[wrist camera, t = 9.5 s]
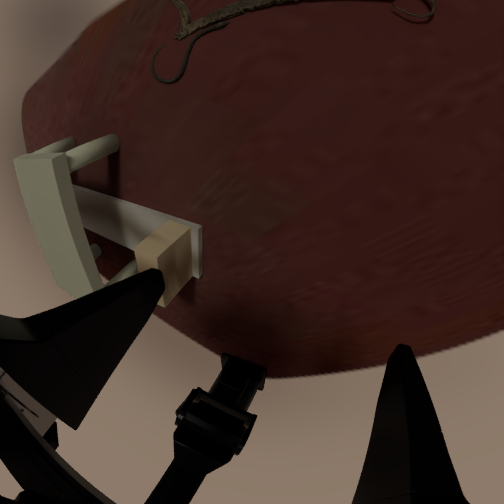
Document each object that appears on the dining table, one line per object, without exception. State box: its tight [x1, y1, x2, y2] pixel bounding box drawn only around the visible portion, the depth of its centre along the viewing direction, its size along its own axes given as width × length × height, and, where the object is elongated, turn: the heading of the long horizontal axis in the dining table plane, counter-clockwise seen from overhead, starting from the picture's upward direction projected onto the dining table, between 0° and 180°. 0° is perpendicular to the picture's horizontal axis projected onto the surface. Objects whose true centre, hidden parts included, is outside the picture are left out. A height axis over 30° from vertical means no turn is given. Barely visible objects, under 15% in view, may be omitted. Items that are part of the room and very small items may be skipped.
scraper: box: [72, 184, 202, 308], centre depth 27 cm, size 6×21×6 cm, turn 84°
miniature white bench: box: [13, 133, 139, 299], centre depth 26 cm, size 18×11×8 cm, turn 179°
